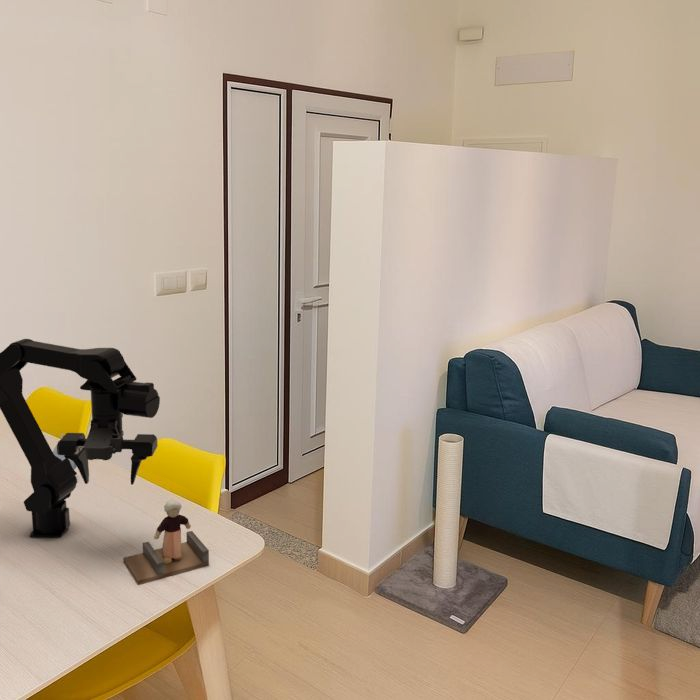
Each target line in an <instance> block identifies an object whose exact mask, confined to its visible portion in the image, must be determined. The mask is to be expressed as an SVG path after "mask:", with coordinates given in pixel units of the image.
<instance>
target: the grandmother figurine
mask: <svg viewBox="0 0 700 700" xmlns="http://www.w3.org/2000/svg"><path fill="white" fill-rule="evenodd" d="M163 508H164V512H166V515H167V516H166V517H164V518H163V520H162V521H161V522H160V524H159V525H158V526H157V528H156V531H155V534H154V536H153V539H154V540H159V538H160V536H161V534H162V533H163V532H164V534H163V540H162V547H161V548H162V556H163V557H162V558H161V559H162V561H163V562H164V564H168V563H171V562H172V559H171V558H173V559H175V560H180V559H182V558H183V555H182V554H181V543H182V528H181V525H184V526H185V529H187V530H189V529H191V526H192V525H191V524H190V521H189V518H188V517H187V516H185V515H182V514H180V511H181V509H182V504H181V502H180V501H179V500H176V499H173V498H172V499H169V500H167V501H166V502H165V504H164V505H163Z"/></svg>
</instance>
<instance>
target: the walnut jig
mask: <svg viewBox="0 0 700 700" xmlns="http://www.w3.org/2000/svg"><path fill="white" fill-rule="evenodd" d="M209 551H210V550H209V549H208V548H207V546H205V545H204V543H203V542H202V541H201V539H199V537H198V536H197V535H196V534H195V532H193V530H189V531H187V532H186V541H185V542H181V554H182V555H183V558H182V559H180V560H175V559H173V558H171V559H172V562H171V563H168V564H164V562H163V561H162V559H161V558H162V557H163V556H162V547H159V548H158V549H155V548H154V547H153V545H152V544H151V543H150V542H149V541H144V542H142V552H141V553H136V554H132V555H129V556H125V557H123V558H122V562H123V563H124V565H125V566H126V568H127V569H128V571H129V573H130V574H131V576H132V577H133V579H134V581H135V582H136V584H137V585H143V584H145V583H149V582H152V581H156V580H160V579H163V578H167V577H171V576H174V575H179V574H181V573H185V572H189V571H190V572H191V571H193V570H196V569H200V568H203V567H209V566H210V564H209V562H210V559H209V558H210V555H209V554H210V552H209Z"/></svg>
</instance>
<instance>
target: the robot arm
mask: <svg viewBox="0 0 700 700" xmlns="http://www.w3.org/2000/svg"><path fill="white" fill-rule="evenodd" d="M28 363H29V364H33V365H39V366H44V367H49V368H56V369H59V370H66V371H67V370H68V371H71V372H74V373H76V374H77V375H78V376H79V377H80V378H82V379H85V380H86V381H85V382H84V383H83V384H82V385H80V390H82V391H90V403H91V405H90V406H91V420H90V425H89V426H90V429H89V431H88V434H87V437H86V435H85V433H84V432H66V433H65V434H63V437H62V438H60V440H59V441H58V442H57V443H56V445H57V454H58V455H65V456H64V457H65V458H66V459H64V460H61V459H59V458H58V457H56V456H55V455H54V454H53V450H52V449H51V447H50V445H49V443H48V441H47V438H46V437H45V435H44V433H43V431H42V429H41V428H40V426H39V423H38V422H37V419H36V417H35V416H34V415H33V412H32V410H31V409H30V406H29V405H28V402H27V401H26V399H25V397H24V395H23V394H24V393H23V385H24V384H23V382H24V381H23V375H22V374H21V372H20V371H21V370H22V369H24V367H26V366H27V364H28ZM117 376H119V377H118V378H115V377H117ZM113 378H115V379H113ZM160 402H161V397H160V395H159V393H158V390H157V389H155V384H154V383H153V382H139V381H137V377H136V376H135V374H134V372H133V371H132V370H131V368H130V367H129V365H128V364H127V363H126V360H125V359H124V356H123V354H122V353H121V351H120V350H119V349H117V348H114V347H94V348H84V349H82V348H74V347H69V346H63V345H59V344H52V343H49V342H48V343H47V342H41V341H36V340H35V341H34V340H32V339H30V338H23V339H20V340H16V341H14V342H13V341H12V343H10V344H9V345H8V346H7V347H6V348H4V350H2V351H1V352H0V411H1V413H2V414H3V417H4V418H5V420H6V422H7V424H8V426H9V428H10V429H11V432H12V433H13V436H14V437H15V439H16V441H17V443H18V445H19V447H20V448H21V451H22V452H23V454H24V456H25V458H26V460H27V461H28V464H29V465H30V483H31V484H30V485H31V488H32V490H33V492H32V493H31V494H30V495H29V496H28V497H27V498H25V500H24V501H23V504H24V507H25V509H26V511H27V512H31V523H32V531H31V532H30V534H29V537H31V538H61V537H63V535H64V533H65V532H66V531H67V530H68V528H69V526H70V525H71V518H70V508H69V507H67V500H66V499H69V498H70V497H71V495H72V493H73V491H74V490H75V489H76V487H77V484H78V479H77V476H76V475H78V472H79V473H80V476H81V478H82V480H83V482H84V484H86V485H87V484H88V483H89V481H90V470H89V469H90V467H89V461H94V460H102V461H109V460H110V459H112V457H113V454H115V455H116V453H122V452H123V450H131V454H132V455H131V457H130V460H131V461H130V462H131V467H130V484H131V485H134V484H135V481H136V478H137V475H138V472H139V470H140V469H139V468H140V465H141V463H142V461H143V460H144V461H145V460H146V459H147V458H149V457H153V456H154V454H155V451H156V450H157V448H158V437H157V436H156V434H154V433H153V434H148V433H147V434H145V433H143V434H142V433H137V435H136V436H135V438H134V439H124V434H125V433H124V430H123V417H124V416H125V415H126V416H132V417H141V418H150V419H152V418H154V417H155V416H156V415H157V413H158V411H159V408H160V404H161V403H160ZM69 459H70V460H72V461H73V462H74V463H75V464H76V468H77V470H78V472H76V471H75V470H74V469H73V468H72V466H71V463H70V461H69Z"/></svg>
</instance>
